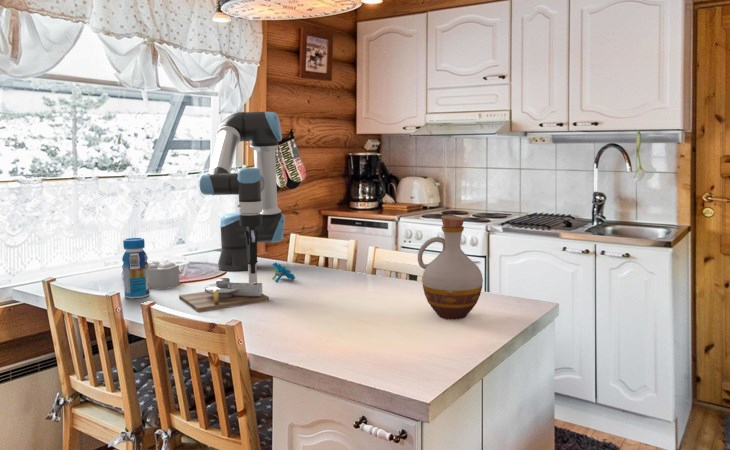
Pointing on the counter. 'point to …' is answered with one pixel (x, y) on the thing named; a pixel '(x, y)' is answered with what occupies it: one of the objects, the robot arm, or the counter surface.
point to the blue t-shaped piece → (282, 272)
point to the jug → (451, 274)
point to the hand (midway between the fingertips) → (252, 282)
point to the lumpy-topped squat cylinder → (163, 274)
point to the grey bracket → (234, 287)
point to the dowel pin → (216, 297)
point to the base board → (206, 300)
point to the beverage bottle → (135, 269)
